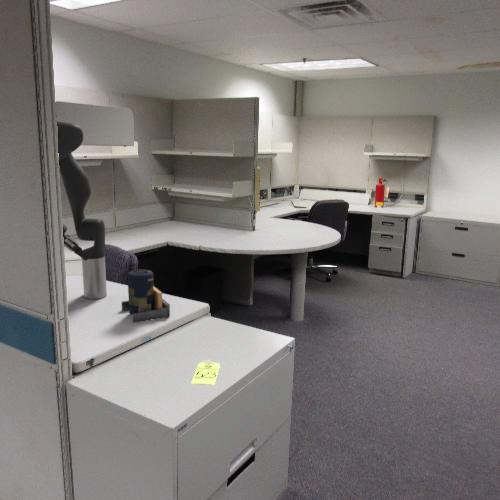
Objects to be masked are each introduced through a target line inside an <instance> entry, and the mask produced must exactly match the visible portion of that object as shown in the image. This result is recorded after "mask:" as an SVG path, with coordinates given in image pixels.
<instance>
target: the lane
mask: <svg viewBox="0 0 500 500" xmlns="http://www.w3.org/2000/svg"><path fill="white" fill-rule="evenodd" d="M170 307H171V305H170V303H169V302H168V301H166V300H165V299H164V298H163V297H162V308H160V309H153V310H147V311H141V312H135V313H132V315H131V316H132V323H133V324H136V323H142V322H147V321H146V320H148V321H152V320H151V319H154V320H158V319H157V318H160V319H163V318H162V317H165V318H169V317H168V316H170V317H171V310H170V309H171V308H170ZM121 311H122V312H125V311H129V300H124V301H121ZM141 321H142V322H141Z"/></svg>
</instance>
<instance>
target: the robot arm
mask: <svg viewBox="0 0 500 500" xmlns="http://www.w3.org/2000/svg"><path fill="white" fill-rule="evenodd" d="M56 121H57V120H56ZM57 126H58V153H59V166H60V170H59V172H60V175H61V179H62V182H63V187H64V189H65V193H66V196H67V199H68V202H69V205H70V210H71V213H72V218H73V219H72V220H73V224H74V230H75V233H76V236H77V238H78V240H80V241H85V242H86V241H87V242H94V243H93V245H92V246H90V247H86V248H84V249H83V248H82V247H81V246H79V244H78V242H76V241H75V240H74V238H73V237H72V236H70V235H69V234H66V232H67V230H68V227H67V225H66V224H65V223H63V237H64V246H63V247H64V248H66V249H67V250H68V251H70V252H72V253H74V254H75V255H77V256H78V257H80V258H81V265H82V268H81V269H82V281H83V282H82V283H83V286H82V287H83V297H84V298H85V299H91V300H94V299H95V300H97V299H98V300H99V299H102V298H105V297H106V296H107V295H108V293H107V274H106V273H107V271H106V269H107V268H106V224H105V222H104V220H103V219H101V218H87V217H86V215H85V211H84V210H85V208H86V205H87V204H88V201H89V199H90V197H91V195H92V188H91V184H90V181H89V177H88V175H87V172H86V171H85V169H83V167H82V166H81V165H80V164H79V163H78V162H77V160H76V158H75V157H74V156H73V152H75V151H76V150H78V148H80V147H81V145H82V144H83V141H84V131H83V129H82V127H81V126H79V125H78V124H75V123H71V122H70V123H69V122H65V121H59V120H58V121H57Z"/></svg>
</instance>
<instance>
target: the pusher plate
mask: <svg viewBox="0 0 500 500" xmlns="http://www.w3.org/2000/svg"><path fill="white" fill-rule="evenodd" d="M162 298H163V292H162V291H161V290H159V289H158V288H157V287H155V286H154V309H160V308H162Z"/></svg>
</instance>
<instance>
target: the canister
mask: <svg viewBox="0 0 500 500" xmlns="http://www.w3.org/2000/svg"><path fill="white" fill-rule="evenodd" d="M154 284H155V283H154V272H153V271H152V270H150V269H144V268H143V269H142V268H141V269H140V268H139V269H134V270H131V271H129V272H128V274H127V293H128V301H129V310H128V313H129V315H130V316H132V313H135V312H141V311H147V310H153V309H154V287H155V285H154Z"/></svg>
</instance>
